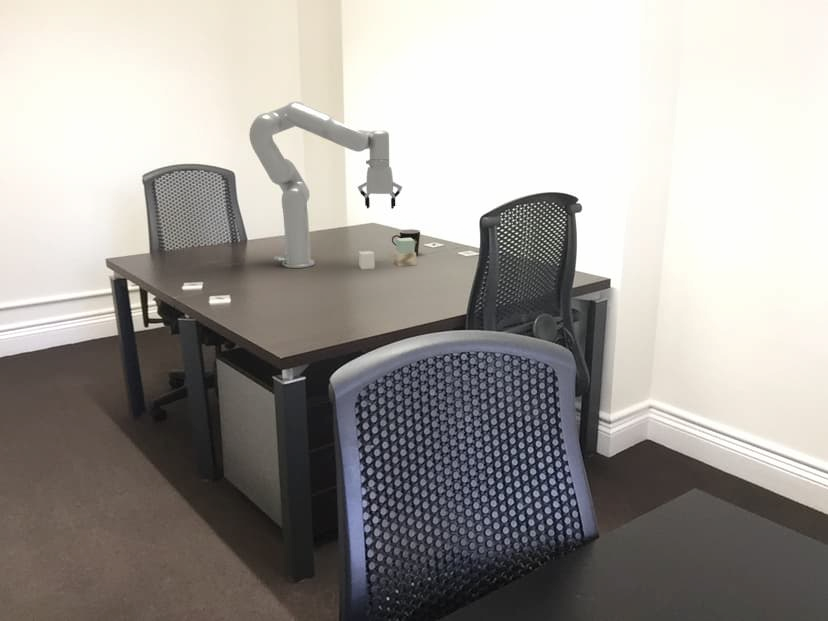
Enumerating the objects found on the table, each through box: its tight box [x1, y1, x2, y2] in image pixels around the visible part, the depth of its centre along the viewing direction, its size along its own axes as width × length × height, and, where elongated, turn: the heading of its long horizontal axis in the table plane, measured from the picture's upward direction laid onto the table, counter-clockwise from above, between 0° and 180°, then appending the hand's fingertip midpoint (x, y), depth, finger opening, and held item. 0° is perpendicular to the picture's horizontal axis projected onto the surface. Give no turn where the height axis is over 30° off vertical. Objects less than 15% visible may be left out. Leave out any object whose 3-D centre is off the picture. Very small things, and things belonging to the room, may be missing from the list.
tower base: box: [393, 250, 417, 267], centre depth 290 cm, size 7×7×5 cm
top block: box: [358, 250, 376, 270], centre depth 285 cm, size 5×5×6 cm
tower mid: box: [395, 237, 415, 254], centre depth 289 cm, size 6×6×5 cm
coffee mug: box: [391, 228, 421, 257], centre depth 305 cm, size 12×9×10 cm
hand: (380, 208), depth 285 cm, fingers open, 9 cm apart
